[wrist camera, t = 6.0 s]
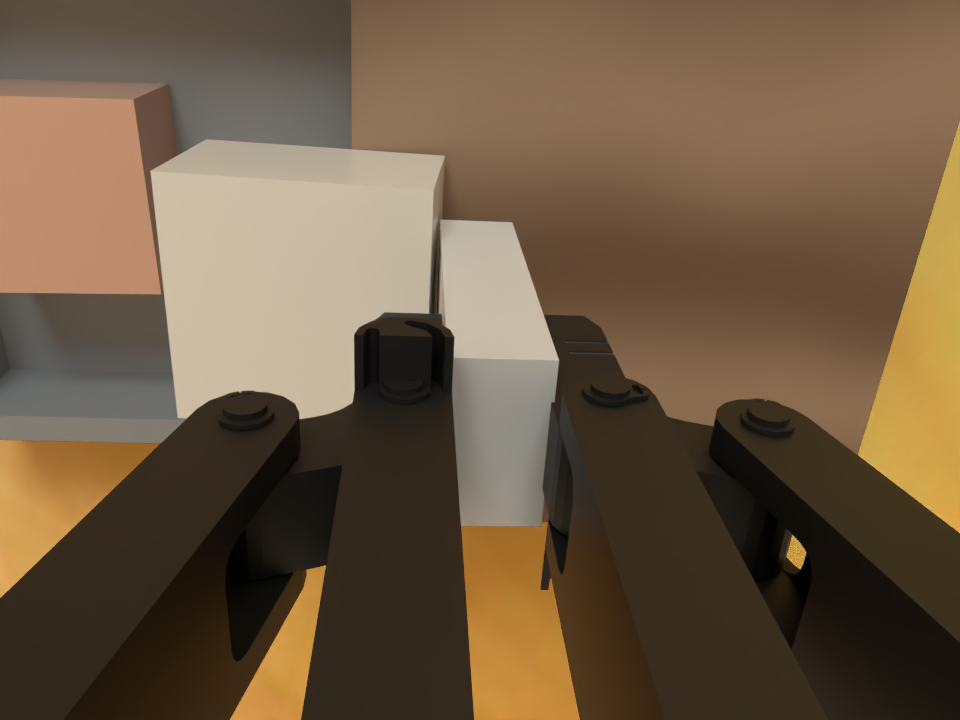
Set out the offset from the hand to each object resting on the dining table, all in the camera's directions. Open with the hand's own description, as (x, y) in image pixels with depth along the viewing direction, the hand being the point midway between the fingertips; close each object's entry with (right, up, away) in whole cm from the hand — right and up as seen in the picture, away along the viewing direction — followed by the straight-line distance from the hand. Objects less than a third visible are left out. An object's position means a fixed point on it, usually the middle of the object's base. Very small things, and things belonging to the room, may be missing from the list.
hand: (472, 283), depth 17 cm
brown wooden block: (+3, +3, +8) cm, 9 cm away
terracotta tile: (-11, +2, +3) cm, 12 cm away
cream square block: (-3, +1, +1) cm, 3 cm away
